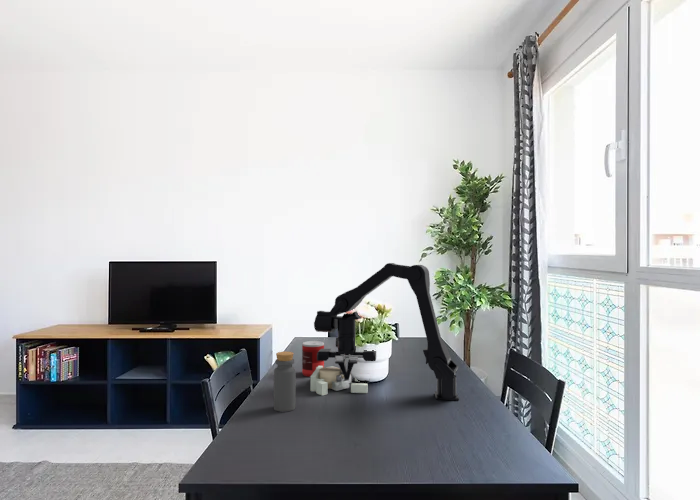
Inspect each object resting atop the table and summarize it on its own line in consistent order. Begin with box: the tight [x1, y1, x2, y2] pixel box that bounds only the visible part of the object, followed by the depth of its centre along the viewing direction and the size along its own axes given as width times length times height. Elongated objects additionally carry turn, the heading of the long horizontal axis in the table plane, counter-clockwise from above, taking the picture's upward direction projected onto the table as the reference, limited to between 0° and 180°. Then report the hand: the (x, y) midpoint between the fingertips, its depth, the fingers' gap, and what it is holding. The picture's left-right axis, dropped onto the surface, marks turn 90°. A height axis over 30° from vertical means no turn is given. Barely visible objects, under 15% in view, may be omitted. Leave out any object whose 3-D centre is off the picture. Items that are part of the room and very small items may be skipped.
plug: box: [319, 366, 341, 390], centre depth 143 cm, size 7×7×5 cm
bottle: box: [273, 351, 297, 413], centre depth 121 cm, size 6×6×15 cm
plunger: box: [339, 367, 352, 384], centre depth 147 cm, size 5×2×4 cm, turn 39°
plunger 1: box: [332, 375, 350, 392], centre depth 139 cm, size 5×2×4 cm, turn 129°
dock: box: [309, 366, 369, 396], centre depth 143 cm, size 22×18×4 cm
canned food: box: [301, 340, 325, 378], centre depth 157 cm, size 8×8×11 cm
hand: (347, 381), depth 142 cm, fingers closed
